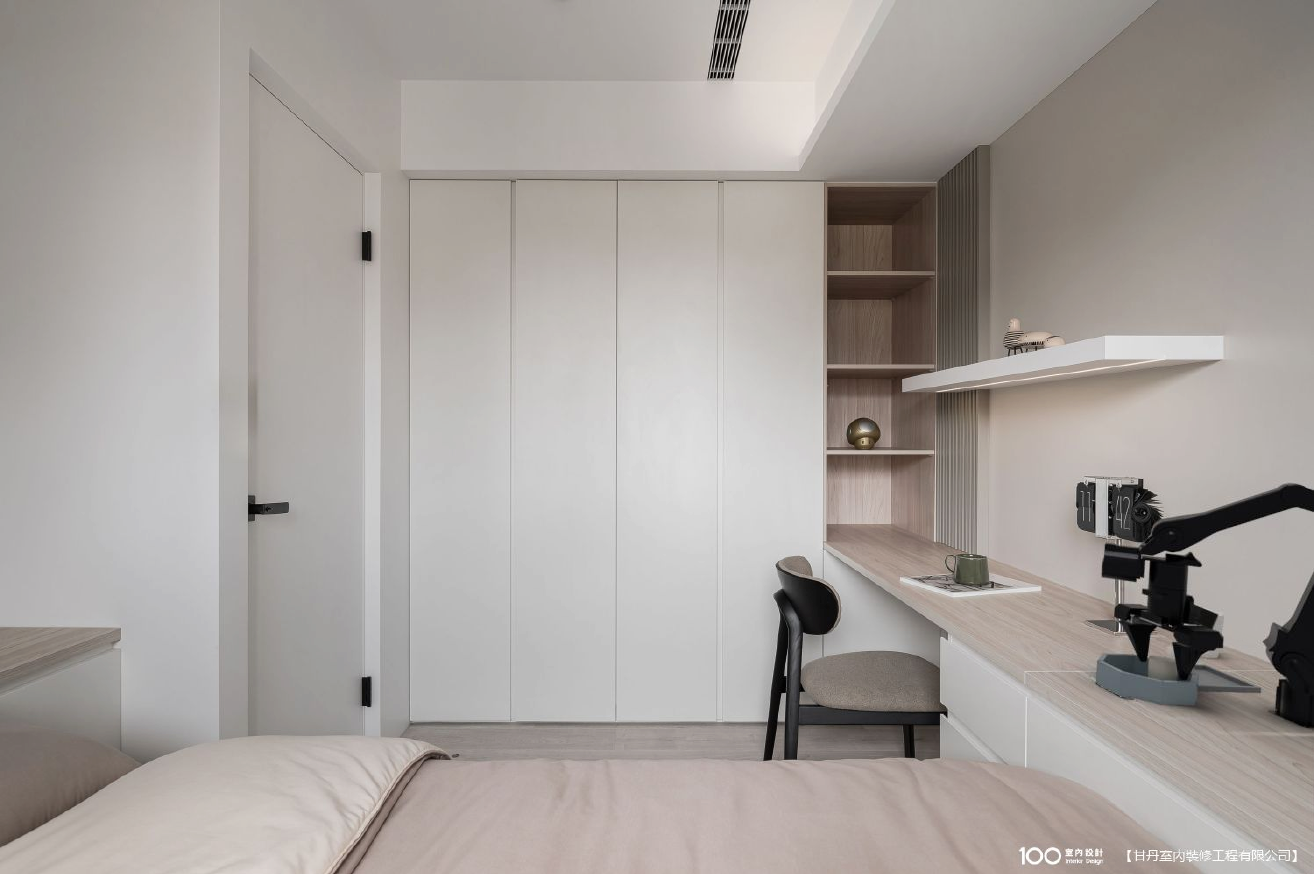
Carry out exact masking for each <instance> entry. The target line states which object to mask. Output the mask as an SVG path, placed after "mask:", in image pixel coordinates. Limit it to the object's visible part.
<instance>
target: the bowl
mask: <svg viewBox="0 0 1314 874" xmlns="http://www.w3.org/2000/svg"><path fill="white" fill-rule="evenodd" d="M1148 663H1149V656H1148V657H1147V661H1146V662H1141V661H1140V660H1139V658H1138V656H1137V654H1133V653H1110V652H1109V653H1104V652H1102V654H1101V655H1100V656H1099V658H1098V659H1097V660H1096V670H1095V671H1096V674H1095V675H1096V676H1095V684H1096V683H1097V684H1098V685H1097V684H1096V685H1097V686H1099V685H1100V686H1099V687H1101V686H1103V687H1104V688H1106V689H1108V690H1110V691H1111V692H1110V691H1109V692H1110V693H1112V692H1113V693H1116V694H1117V695H1119V696H1121V697H1120V698H1122V697H1124V698H1123V699H1126V698H1127V700H1130V699H1131V700H1130V701H1134V700H1135V699H1139V700H1143V701H1147V702H1150V703H1154V704H1158V705H1164V706H1165V705H1168V706H1171V705H1172V706H1173V705H1174V706H1196V703H1197V702H1196V701H1197V698H1198V695H1199V694H1198V693H1199V691H1198V680H1199V674H1196V673H1194V672H1191V673H1190V675H1189V677H1188V679H1187V680H1180V679H1179V675H1178V679H1177V681H1168V680H1158V679H1153V678H1149V677H1148ZM1103 687H1102V688H1103ZM1104 688H1103V689H1104ZM1106 689H1105V690H1106ZM1108 690H1107V691H1108ZM1113 693H1112V694H1113ZM1117 695H1116V696H1117ZM1119 696H1118V697H1119Z"/></svg>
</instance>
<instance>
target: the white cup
mask: <svg viewBox="0 0 1314 874" xmlns="http://www.w3.org/2000/svg"><path fill="white" fill-rule="evenodd" d="M1203 608H1204V609H1206V610H1209V611H1211V612H1214V613H1216V614H1218V618H1217V620H1216V622H1215V625H1214V627H1213V630H1216V631H1219V632H1220V633H1221V634H1222V635H1223V627H1224V621H1225V620H1224V619H1225V613H1223V612H1221V611H1219V610H1215V609H1211V608H1207V607H1203ZM1184 625H1189V624H1184ZM1195 626H1198V625H1195ZM1199 626H1201V625H1199ZM1219 653H1220V648H1216V650H1215V651H1207V652H1206V653H1204V654H1203V655H1202V656H1201V657H1200V658H1206V659H1217V658H1219Z"/></svg>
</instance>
